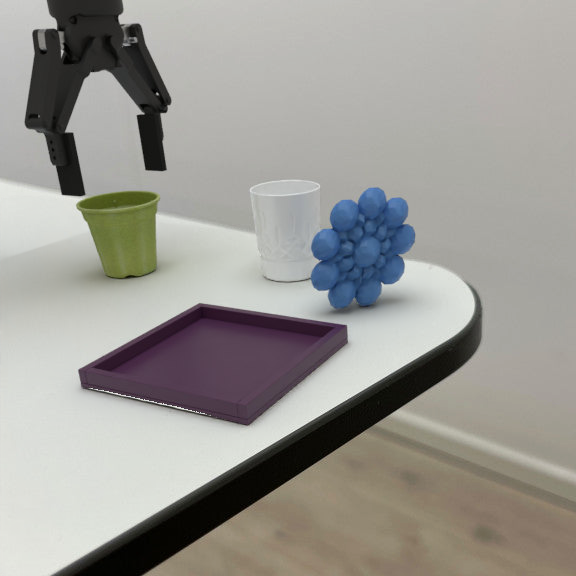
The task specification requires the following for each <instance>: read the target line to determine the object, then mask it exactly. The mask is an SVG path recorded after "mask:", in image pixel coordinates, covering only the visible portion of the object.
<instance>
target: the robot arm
mask: <svg viewBox="0 0 576 576" xmlns="http://www.w3.org/2000/svg"><path fill="white" fill-rule="evenodd" d="M46 3H47V9H48V14H49V16H50V17H51V18H53V19H55V21H56V28H53V27H52V28H35V29H33V30H32V32H31V33H32V34H31V35H32V36H31V37H32V44H33V53H34V55H33V61H32V67H31V75H30V81H29V87H28V95H27V103H26V109H25V115H24V126H25V128H26V129H27V130H32V131H33V130H34V131H35V132H36V133H38V134H43V135H44V138H45V141H46V142H45V143H46V146H47V151H48V155H49V160H50V163H51V165H52V166H55V169H56V175H57V178H58V179H57V180H58V184H59V189H60V193H61V196H66V197H67V196H68V197H84V196H87V195H86V190H85V184H84V180H83V175H82V174H83V173H82V169H81V164H80V159H79V154H78V150H77V145H76V139H75V134H74V132H69V131H67V128H68V125H69V123H70V120H71V118H72V114H73V112H74V109H75V107H76V103H77V101H78V98H79V96H80V92H81V90H82V87H83V84H84V81H85V79H87V78H88V77H90V75H91V73H99V72H102V71H106V72H108V73H110V74H111V75H112V76H113V77H114V79H115V80H116V81H117V82H118V83H119V85H120V86H121V88H122V89H123V90H124V91H125V93H126V94H127V95H128V96H129V98H130V99H131V100H132V101H133V103H134V104H135V105H136V107H137V108H138V109H139V110H140V111H141V113H140V114H136V120H137V127H138V134H139V139H140V146H141V152H142V158H143V164H144V170H145V171H147V172H149V171H150V172H165V171H167V170H168V168H167V161H166V154H165V150H164V142H163V141H164V137H165V135H164V129H163V124H162V116H161V115H162V114H167V113H168V110H169V106H171V105H172V97H171V95H170V93H169V90H168V88H167V86H166V84H165V82H164V80H163V78H162V75H161V73H160V72H159V70H158V69H159V68H158V67H157V65H156V62H155V61H154V59H153V57H152V54H151V52H150V50H149V48H148V46H147V44H146V40H145V35H144V30H143V27H142V25H141V24H140V22H139V23H138V22H137V23H120V19H119V16H121V15H122V14H123V13H124V12H125V11H124V2H123V0H46ZM62 51H63V53H62Z"/></svg>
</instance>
